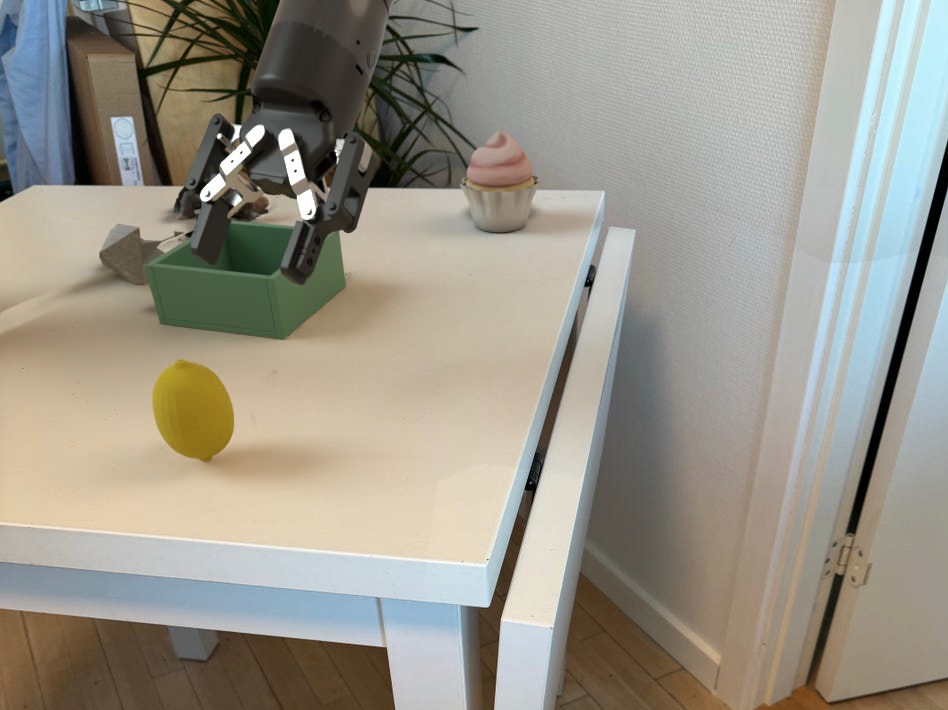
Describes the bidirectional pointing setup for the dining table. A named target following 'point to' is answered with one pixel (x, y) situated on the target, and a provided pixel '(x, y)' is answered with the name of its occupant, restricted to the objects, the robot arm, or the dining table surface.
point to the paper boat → (129, 252)
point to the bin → (243, 284)
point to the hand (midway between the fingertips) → (245, 269)
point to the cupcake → (500, 185)
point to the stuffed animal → (248, 211)
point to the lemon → (193, 410)
